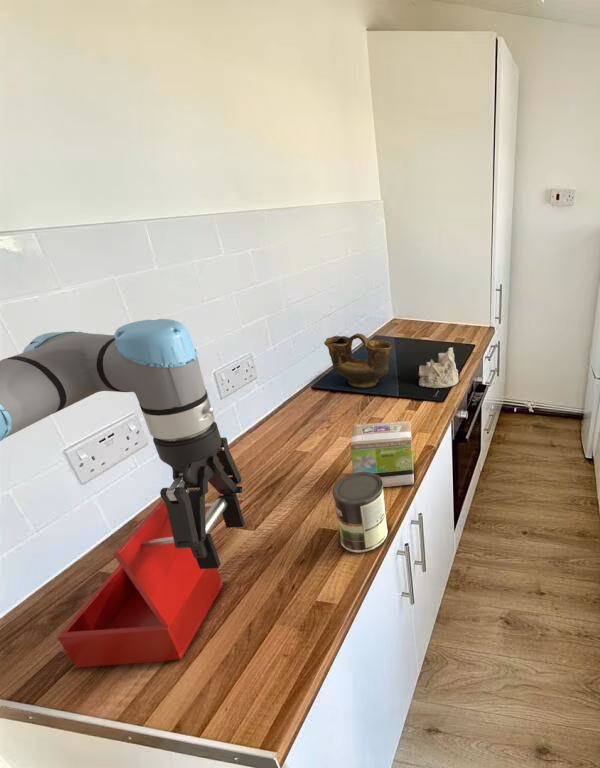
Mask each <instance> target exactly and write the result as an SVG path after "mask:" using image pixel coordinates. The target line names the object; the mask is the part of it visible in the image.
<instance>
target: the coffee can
mask: <svg viewBox="0 0 600 768" xmlns="http://www.w3.org/2000/svg"><path fill="white" fill-rule="evenodd" d="M331 492H332V497H333V500H334V506H335V511H336V512H335V513H336V518H337V525H338V531H339V536H340V544H341V546H342V547H343V548H344V549H345V550H347V551H348V552H352V553H357V554H359V553H366V552H370V551H373V550H375V549H376V548H378V547H379V546H381V545H382V544H383V543H384V542H385V540H386V538H387V536H388V531H389V530H388V526H387V516H386V506H385V504H386V503H385V493H384V487H383V480H382V479H381V477H380V476H378V475H377V474H374V473H370V472H357V473H353V472H352V473H349V474H347V475H344V476H343V477H341V478H340V479H338V481H336V483H334V485H333V487H332V490H331Z"/></svg>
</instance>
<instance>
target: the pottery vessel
mask: <svg viewBox="0 0 600 768" xmlns="http://www.w3.org/2000/svg"><path fill="white" fill-rule="evenodd" d="M356 339H359V340H360V341H361V342H362V344H363V345H364V347H365V348H366V351H367V358H365V359H361V358H357V357H355V356H354V355H353V349H352V348H353V341H354V340H356ZM324 345H325V346H326V347H327V349H328V353H329V357H330V361H331V364H332V369H333V371H335V372H336V373H337V374H339V375H340V376H343V377H344V378H346V379H347V384H348V385H350V386H351V387H353V388H360V389H363V388H364V389H365V388H366V389H367V388H372V387H375V386H376V385H377V383H379V379H381V378H383V377H385V376H386V375H388V373H389V369H390V368H389V366H390V364H389V361H390V354H391V350H392V347H393V346H392V343H391V342H390V341H388V340H386V339H371V340H370V339H369V338H368V337H367V336H366V335H364V334H363V333H355V334H353V335H352V336H345V335H342V336H341V335H333V336H331V337H327V338H326V339H325V340H324Z"/></svg>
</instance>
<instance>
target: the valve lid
mask: <svg viewBox="0 0 600 768" xmlns="http://www.w3.org/2000/svg"><path fill="white" fill-rule="evenodd" d="M227 506H228V501H227V500H225V499H223V498H219V499H217V498H216V500H214V502H209V503H205V511H206V510H207V512H205V521H206V534H210V533H211V531H212V529H213V528H214V527H215V525H216V524H217V522H218V521H219V519H220V518H221V517H222V516H223V515H222V513H223V512H224V510H225V509H226V507H227ZM147 515H148V516H147ZM147 515H146V517H145V518H144V519H142V521H141V522H140V523H139V524H140V525H139V524H138V525H139V526H138V525H137V526H138V527H137V526H136V527H135V529H134V530H133V531H132V533H130V534H129V535H128V537H126V539H125V540H124V541H123V542H122V543H121V544H120V546H118V548H117V549H116V550H115V551H114V553H113V556H114V558H115V559H116V560H117V562H118V563H119V564H120V565H121V566H122V568H123V569H124V571H125V572H126V574H127V575H128V576H129V578H130V579H131V581H132V582H133V584H134V585H135V587H136V588H137V590H138V591H139V592H140V594H141V595H142V597H143V598H144V600H145V601H146V603H147V604H148V606H149V607H150V608H151V610H152V611H153V613H154V614H155V616H156V617H157V619H158V620H159V622H160V623H161V624H162V626H163V627H164V628H166V627H169V626H170V624H171V623H172V621H173V620H174V618H175V616H176V615H177V613H178V612H179V610H180V608H181V607H182V605H183V604H184V602H185V601H186V599H187V597H188V596H189V594H190V593H191V591H192V589H193V588H194V586H195V585H196V583H197V581H198V580H199V578H200V577H201V575H202V574H203V572H204V570H205V569H200V568H199V565H198V562H197V560H196V558H195V557H194V556H193V553H192V551H191V548H176V547H175V543H174V539H173V534H172V530H171V525H170V521H169V516H168V512H167V507H166V503H165V502H164V500H163V499H161V500H160V501H159V502H158V503H157V505H156V506H155V507H154V508H153V509H152V510H151V511H150V512H149V513H148V514H147Z"/></svg>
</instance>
